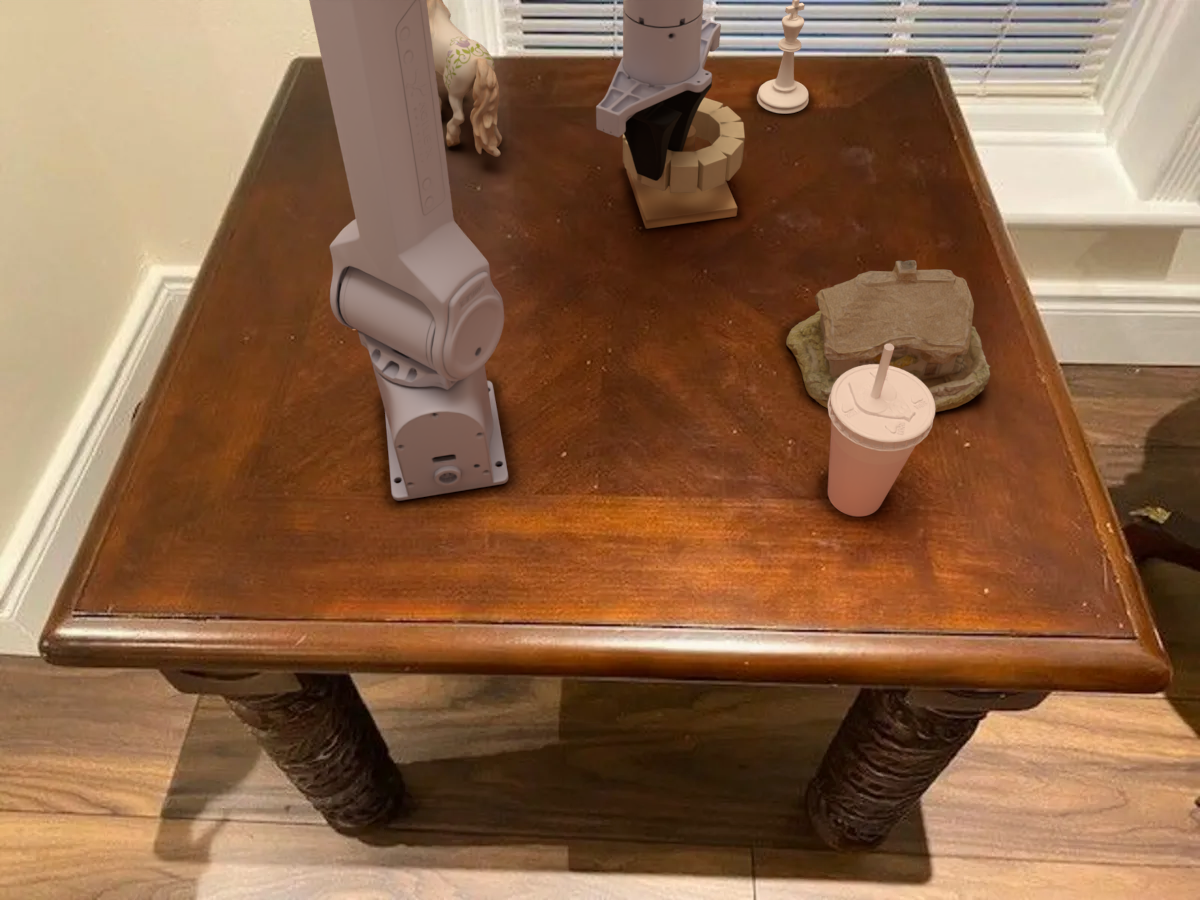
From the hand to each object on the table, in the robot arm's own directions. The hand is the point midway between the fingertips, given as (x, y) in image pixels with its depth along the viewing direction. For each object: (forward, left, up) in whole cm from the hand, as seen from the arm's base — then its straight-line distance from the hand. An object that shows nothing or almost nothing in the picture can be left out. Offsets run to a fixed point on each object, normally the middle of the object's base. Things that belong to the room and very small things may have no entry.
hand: (657, 166), depth 84 cm
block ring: (+3, -3, -1) cm, 4 cm away
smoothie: (-31, -7, -6) cm, 32 cm away
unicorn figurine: (+17, +18, -6) cm, 25 cm away
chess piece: (+15, -16, -6) cm, 22 cm away
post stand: (+3, -3, -5) cm, 7 cm away
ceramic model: (-20, -13, -6) cm, 25 cm away
